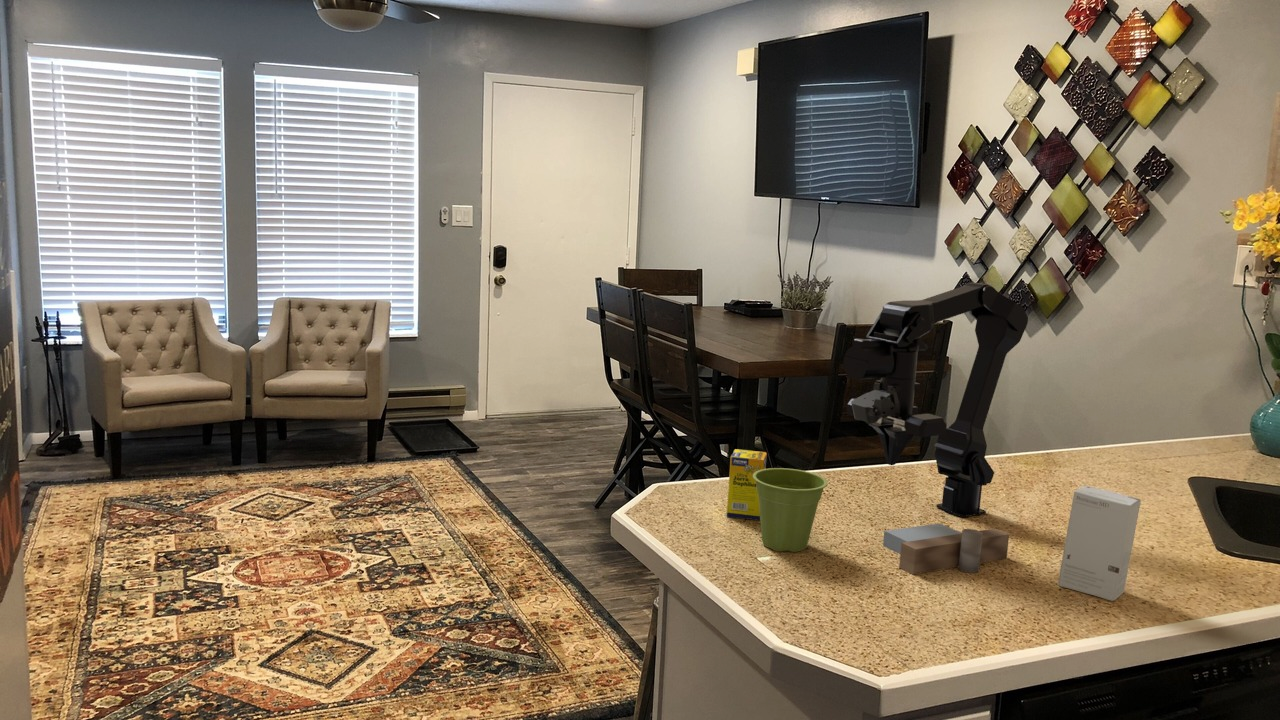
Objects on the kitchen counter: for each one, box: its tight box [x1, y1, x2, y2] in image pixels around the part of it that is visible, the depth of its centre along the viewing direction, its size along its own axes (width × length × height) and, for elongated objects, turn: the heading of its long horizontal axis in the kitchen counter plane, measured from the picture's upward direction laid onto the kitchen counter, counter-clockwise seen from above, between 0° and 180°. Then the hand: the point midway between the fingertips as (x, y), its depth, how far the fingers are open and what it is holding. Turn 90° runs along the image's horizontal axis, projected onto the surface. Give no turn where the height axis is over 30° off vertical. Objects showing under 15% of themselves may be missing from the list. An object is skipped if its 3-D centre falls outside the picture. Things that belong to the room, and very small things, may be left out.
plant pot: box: [753, 467, 828, 553], centre depth 159 cm, size 12×12×11 cm
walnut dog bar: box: [898, 528, 1010, 575], centre depth 154 cm, size 20×6×6 cm, turn 118°
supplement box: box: [726, 448, 768, 521], centre depth 174 cm, size 6×6×11 cm
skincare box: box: [1058, 485, 1142, 602], centre depth 146 cm, size 8×6×15 cm
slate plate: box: [882, 523, 962, 555], centre depth 161 cm, size 12×8×3 cm, turn 117°
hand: (891, 464), depth 172 cm, fingers closed
